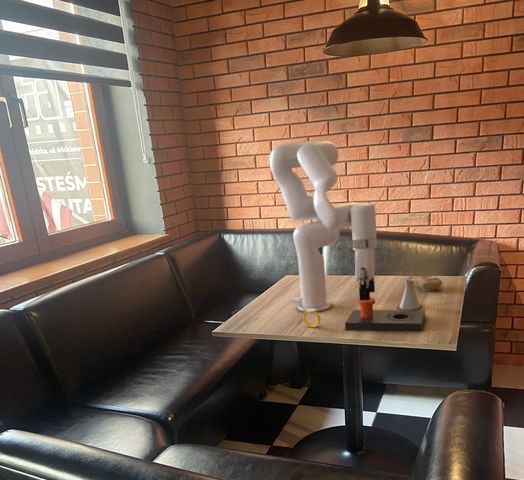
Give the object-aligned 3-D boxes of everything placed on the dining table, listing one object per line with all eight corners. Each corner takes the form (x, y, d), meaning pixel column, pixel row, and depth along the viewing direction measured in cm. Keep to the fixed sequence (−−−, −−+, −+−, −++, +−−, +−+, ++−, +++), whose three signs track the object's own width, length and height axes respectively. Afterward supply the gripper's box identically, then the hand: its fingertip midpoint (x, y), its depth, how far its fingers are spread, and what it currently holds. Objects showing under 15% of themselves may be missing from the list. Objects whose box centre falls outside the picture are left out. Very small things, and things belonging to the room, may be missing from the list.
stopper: (357, 318, 177) (356, 302, 175) (360, 313, 182) (359, 297, 180) (374, 318, 175) (373, 302, 173) (376, 313, 180) (376, 297, 178)
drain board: (345, 330, 175) (345, 322, 174) (353, 316, 187) (353, 309, 186) (421, 331, 167) (421, 323, 166) (424, 317, 179) (424, 310, 178)
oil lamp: (407, 285, 219) (407, 273, 217) (444, 285, 213) (444, 273, 211) (402, 292, 210) (402, 280, 208) (441, 292, 204) (441, 279, 202)
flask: (420, 310, 186) (420, 282, 183) (399, 311, 188) (399, 283, 185) (419, 304, 193) (419, 277, 190) (398, 305, 195) (398, 278, 191)
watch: (302, 327, 183) (301, 310, 181) (306, 324, 185) (305, 308, 183) (318, 328, 179) (317, 311, 177) (322, 326, 182) (320, 309, 179)
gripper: (357, 239, 179) (360, 289, 184) (347, 249, 164) (350, 303, 169) (380, 238, 176) (382, 289, 182) (372, 248, 161) (374, 303, 166)
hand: (367, 296), depth 175 cm, fingers open, 9 cm apart
